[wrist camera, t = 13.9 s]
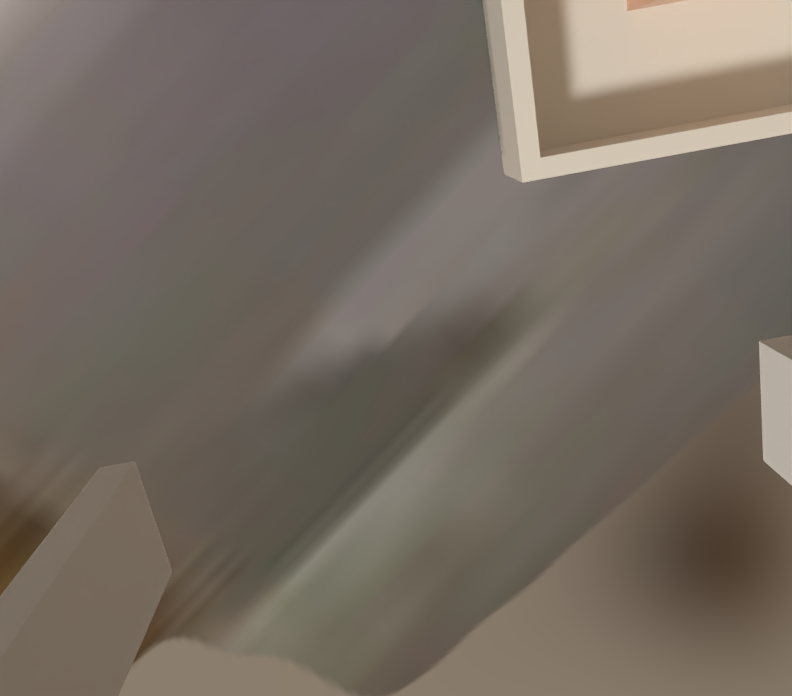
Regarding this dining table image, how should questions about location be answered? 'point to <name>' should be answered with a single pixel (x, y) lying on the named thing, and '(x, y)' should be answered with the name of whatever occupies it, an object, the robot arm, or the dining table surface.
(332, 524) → the dining table surface
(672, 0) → the small crate
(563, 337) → the dining table surface
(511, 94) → the cream square tray
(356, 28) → the dining table surface
